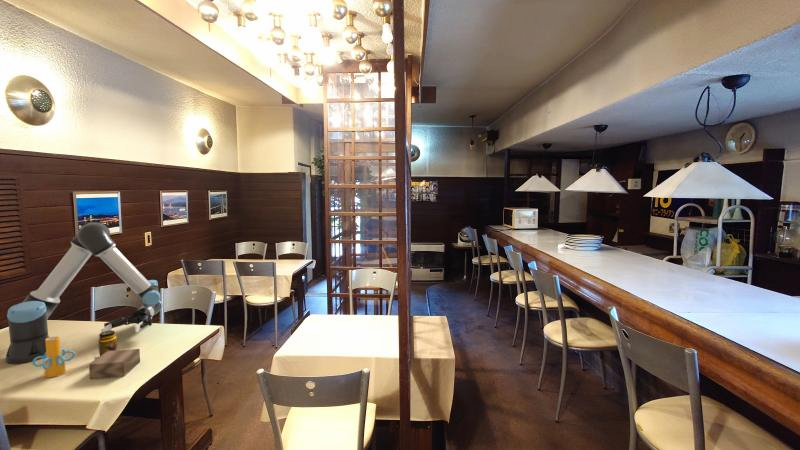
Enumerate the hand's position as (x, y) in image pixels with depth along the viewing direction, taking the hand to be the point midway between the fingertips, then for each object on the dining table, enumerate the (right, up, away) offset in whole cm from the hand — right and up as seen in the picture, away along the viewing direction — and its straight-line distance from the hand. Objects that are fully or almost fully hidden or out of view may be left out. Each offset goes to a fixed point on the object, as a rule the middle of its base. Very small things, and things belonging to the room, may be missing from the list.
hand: (119, 330), depth 164 cm
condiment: (+2, -10, -9) cm, 13 cm away
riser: (+14, -11, -19) cm, 25 cm away
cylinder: (-8, -11, -22) cm, 26 cm away
